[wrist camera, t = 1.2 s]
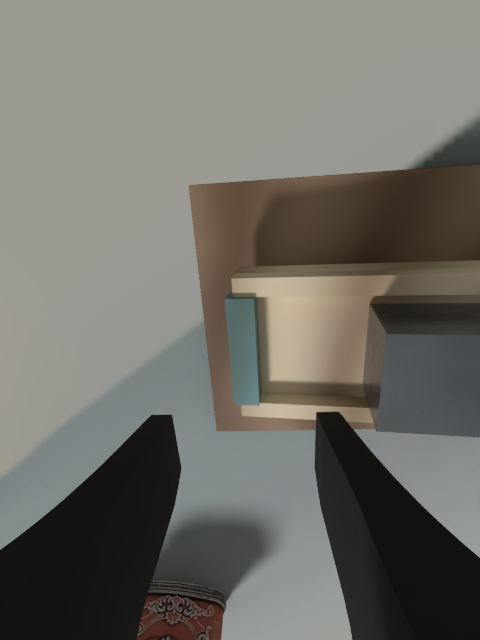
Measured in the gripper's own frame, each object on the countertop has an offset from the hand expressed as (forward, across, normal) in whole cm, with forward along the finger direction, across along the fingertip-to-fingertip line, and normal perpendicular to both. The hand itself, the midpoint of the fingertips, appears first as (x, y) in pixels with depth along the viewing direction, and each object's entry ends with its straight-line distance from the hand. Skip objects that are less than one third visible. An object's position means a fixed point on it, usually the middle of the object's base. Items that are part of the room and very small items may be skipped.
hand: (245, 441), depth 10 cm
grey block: (+5, -8, 0) cm, 9 cm away
